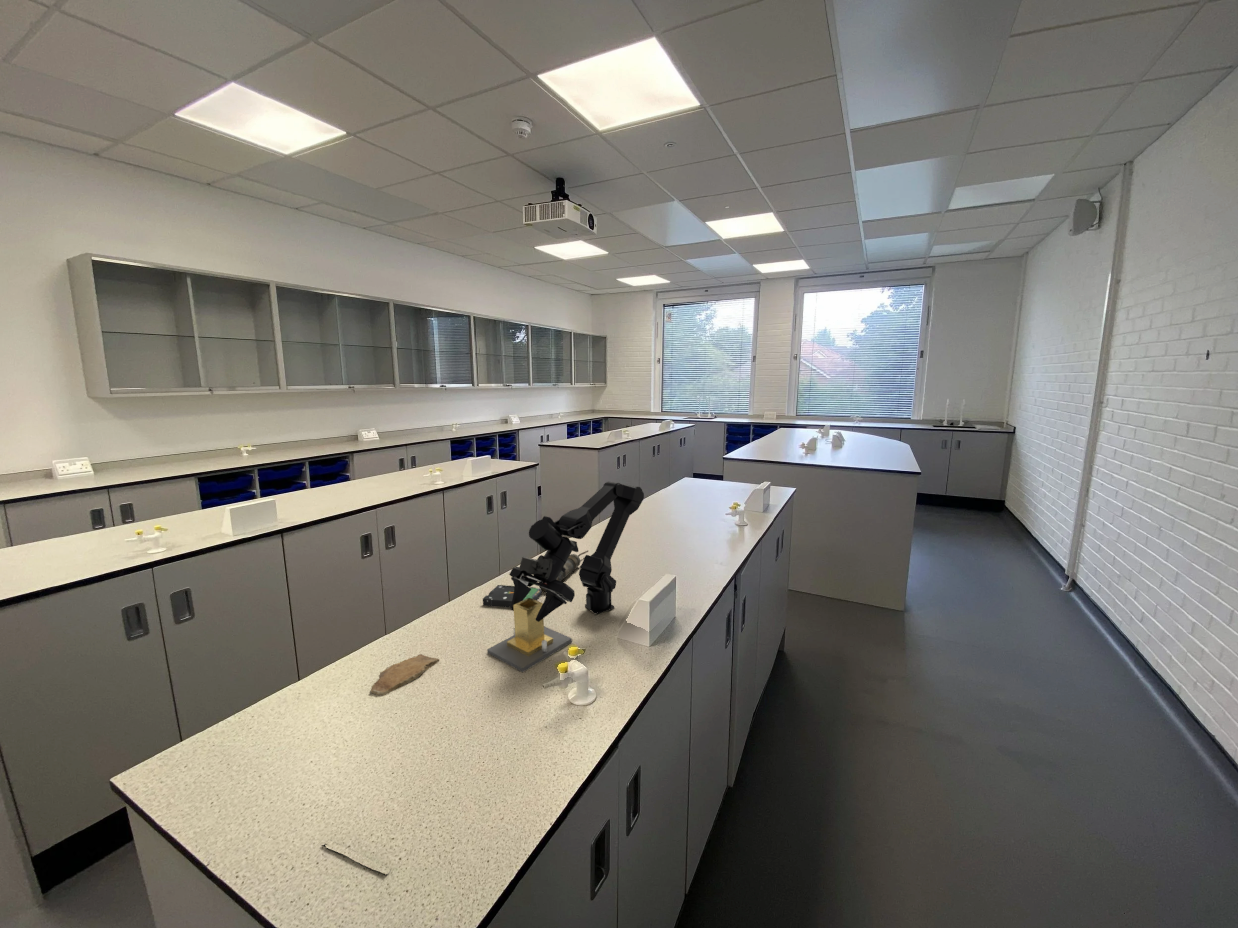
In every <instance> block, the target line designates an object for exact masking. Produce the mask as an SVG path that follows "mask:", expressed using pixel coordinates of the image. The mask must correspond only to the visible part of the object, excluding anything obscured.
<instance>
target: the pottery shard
mask: <svg viewBox="0 0 1238 928" xmlns="http://www.w3.org/2000/svg"><path fill="white" fill-rule="evenodd" d="M438 662H440V659H439V658H437V657H431V656H428V655H427V656H426V655H424V654H422V653H420V654H418V655H417V656H413V657H409V658H406V659H404V660H402V661H400V662H398V663H394V664H391V665H389V666H387V667H386V668H385V669H384V670H383V671H380V672H379V675H378V679H377V681H376V682H374V684H373V685H372V686H371V688H370V692H371V694H374V695H377V696H385V695H388V694H390V693H391V692H392V693H393V691H395V690H397V689H399V688H401V687H402V686H405V685H407V684H409V683H410V682H413V681H414V680H416V679H418V678H419V677H420V676H421V675H422V674H423V673H424V672H427V671H428V670H429V669H430V668H432V667H433V666H436V664H438Z"/></svg>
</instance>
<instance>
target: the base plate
mask: <svg viewBox="0 0 1238 928" xmlns="http://www.w3.org/2000/svg"><path fill="white" fill-rule="evenodd" d="M544 634H545V635H547V636H549V637H551V638H553V642H552V643H551V644H549V645H547V641H546V640H543V641H542V649H540V650H539V651H537V652H535V653H534V654H532V655H530V656H526V655H524V654H522V653H521V652H519V651H517V650H515V649H513V648H511V647H509V646H507V641H509V640H511V639H513V638H515V627H514V628H513V635H512V636H510V637H508V638H506V639H504V640H502V641H500V642H498V643H496V644H494V645H493V646H491V647H489V648H487V649H486V651H487V654H488V655H490V656H492V657H494V658H496V659H497V660H499V661H501V662H503V663H505V664H506V665H509V667H512V668H513V669H516V670H517V671H519V672H522V673H523V672H526V671H528V669H531V668H532V667H534V666H535V665H537V664H539V663H541V662H542V661H543V660H545V659H547V658H548V657H550V656H551V655H553V654H555V653H556V652H558V651H559V650H561V649H563V648H565V647H566V646H568V645H569V644H572V642H573V639H572V638H571V636H568V635H565V634H563V633H561V632H559V631H556V630H554V629H551V628H549V627H546V625H544Z"/></svg>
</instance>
